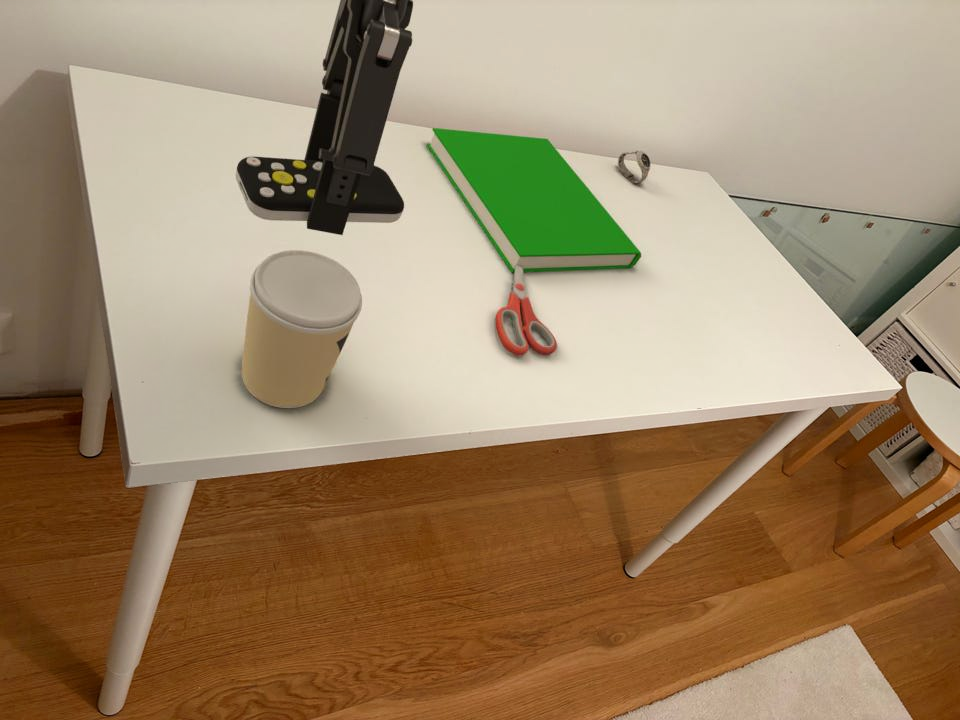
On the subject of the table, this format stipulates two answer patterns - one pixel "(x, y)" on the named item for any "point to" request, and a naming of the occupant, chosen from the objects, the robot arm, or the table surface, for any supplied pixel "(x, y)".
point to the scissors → (528, 319)
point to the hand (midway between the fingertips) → (322, 197)
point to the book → (531, 203)
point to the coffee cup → (296, 326)
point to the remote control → (311, 191)
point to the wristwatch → (642, 162)
